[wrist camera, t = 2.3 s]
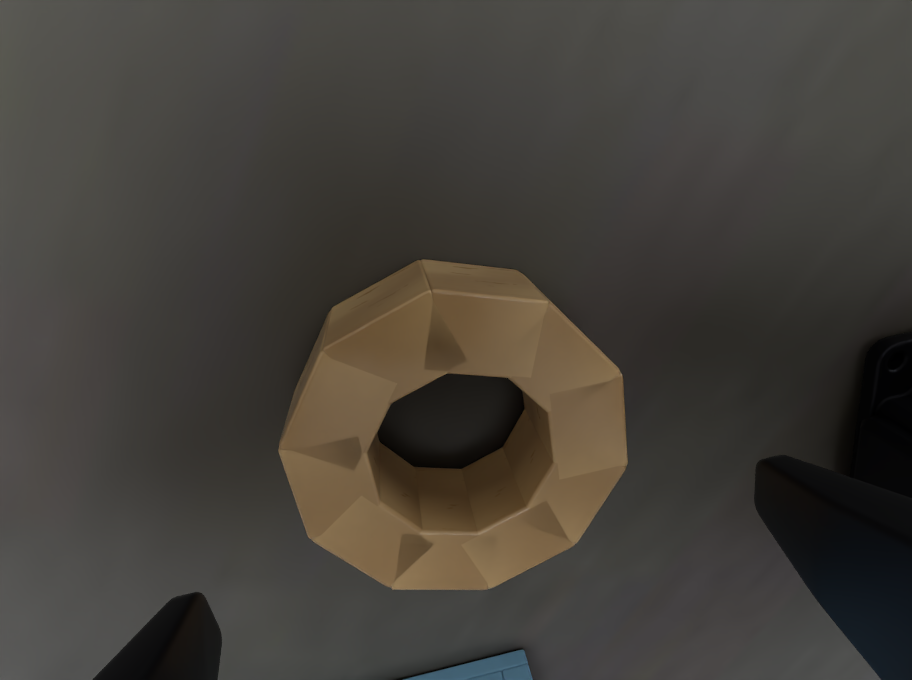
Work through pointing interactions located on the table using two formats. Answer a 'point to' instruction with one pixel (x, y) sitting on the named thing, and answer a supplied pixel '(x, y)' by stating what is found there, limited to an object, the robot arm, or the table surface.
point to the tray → (485, 669)
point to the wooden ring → (443, 489)
